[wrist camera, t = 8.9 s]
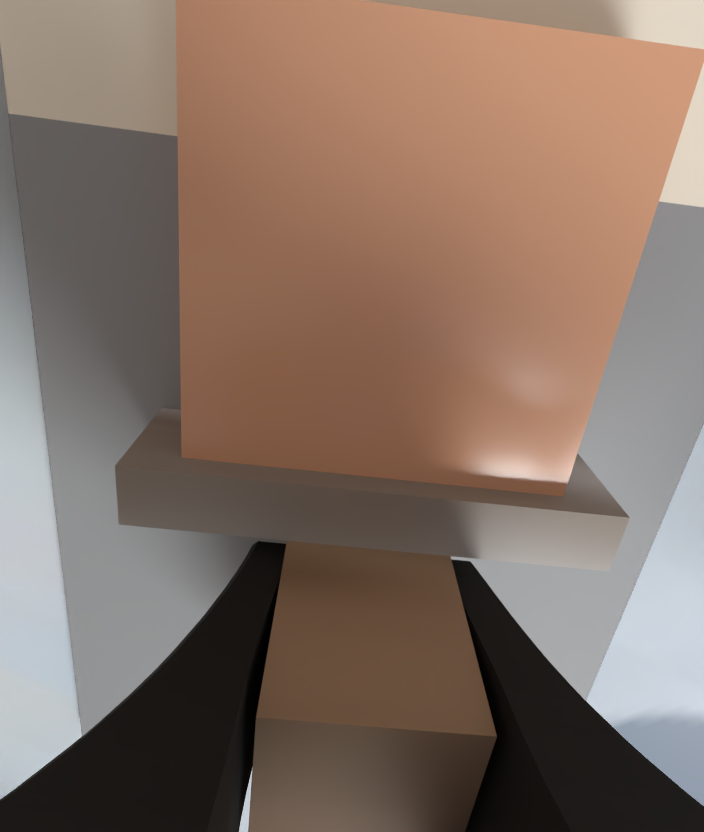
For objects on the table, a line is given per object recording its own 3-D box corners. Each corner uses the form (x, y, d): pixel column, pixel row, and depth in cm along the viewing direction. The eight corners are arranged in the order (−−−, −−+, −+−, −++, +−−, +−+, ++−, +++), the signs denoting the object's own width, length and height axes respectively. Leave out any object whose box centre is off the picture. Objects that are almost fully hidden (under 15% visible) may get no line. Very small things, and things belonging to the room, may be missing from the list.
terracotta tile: (635, 74, 9) (707, 49, 7) (530, 446, 12) (563, 496, 10) (212, 15, 9) (175, -27, 7) (208, 412, 12) (181, 457, 10)
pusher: (501, 684, 15) (589, 982, 9) (168, 656, 14) (56, 953, 9) (576, 452, 12) (768, 688, 6) (161, 407, 12) (-12, 621, 6)
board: (1293, -1037, 5) (1360, -1125, 5) (549, 763, 17) (553, 776, 16) (-150, -1429, 5) (-190, -1559, 4) (88, 725, 16) (82, 738, 16)
